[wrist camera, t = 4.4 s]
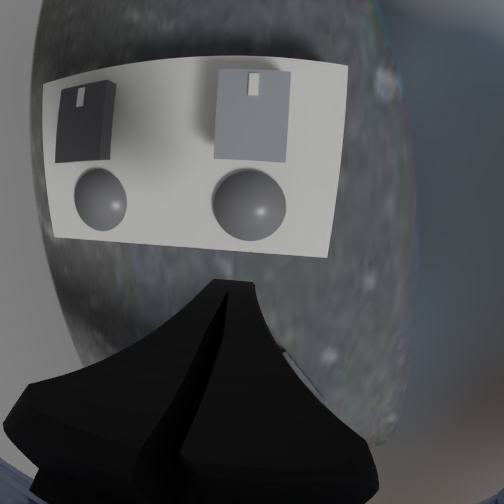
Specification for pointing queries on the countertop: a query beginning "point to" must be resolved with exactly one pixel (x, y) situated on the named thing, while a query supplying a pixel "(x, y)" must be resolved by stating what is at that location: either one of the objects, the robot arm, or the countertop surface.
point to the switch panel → (200, 162)
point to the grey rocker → (252, 115)
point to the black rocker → (85, 122)
